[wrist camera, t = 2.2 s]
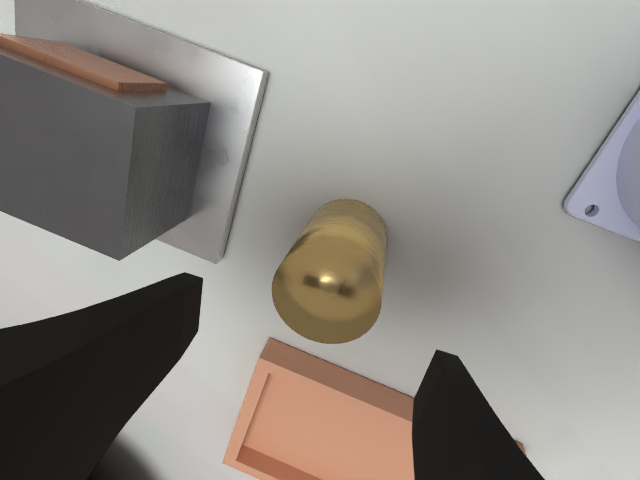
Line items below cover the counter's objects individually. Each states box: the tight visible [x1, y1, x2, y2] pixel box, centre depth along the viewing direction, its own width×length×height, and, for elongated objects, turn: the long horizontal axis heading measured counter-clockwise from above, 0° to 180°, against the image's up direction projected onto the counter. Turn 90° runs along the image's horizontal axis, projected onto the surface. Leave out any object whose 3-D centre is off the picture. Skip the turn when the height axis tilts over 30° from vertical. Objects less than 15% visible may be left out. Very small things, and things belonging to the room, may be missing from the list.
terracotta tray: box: [222, 338, 527, 480], centre depth 23 cm, size 16×10×2 cm, turn 71°
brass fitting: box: [272, 199, 387, 344], centre depth 16 cm, size 4×4×6 cm
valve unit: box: [0, 0, 269, 264], centre depth 16 cm, size 12×10×6 cm
